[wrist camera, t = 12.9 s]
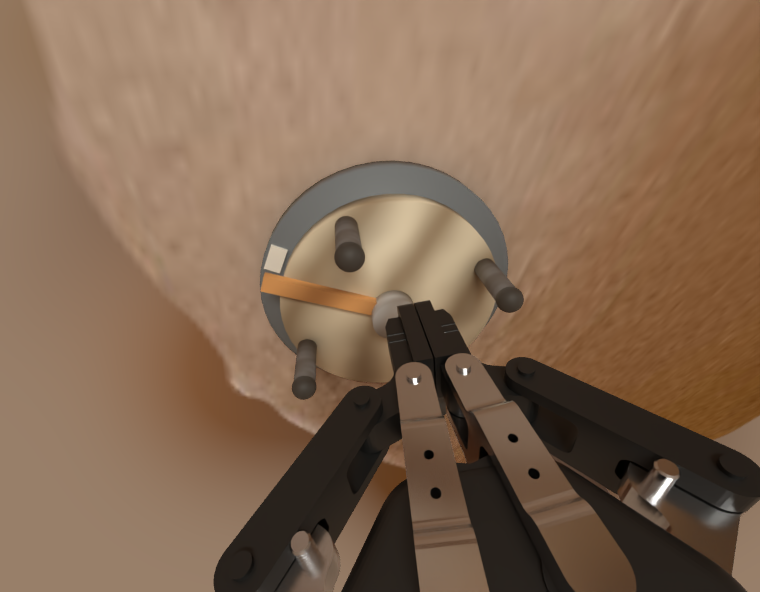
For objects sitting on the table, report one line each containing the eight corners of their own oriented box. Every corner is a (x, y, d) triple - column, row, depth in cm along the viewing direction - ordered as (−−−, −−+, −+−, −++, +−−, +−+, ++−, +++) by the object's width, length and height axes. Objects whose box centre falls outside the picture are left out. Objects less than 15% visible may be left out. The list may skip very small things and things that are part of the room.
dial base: (428, 383, 44) (432, 396, 42) (238, 339, 36) (233, 353, 34) (547, 222, 33) (560, 231, 31) (309, 106, 25) (308, 110, 23)
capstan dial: (529, 232, 30) (584, 277, 24) (435, 380, 40) (456, 441, 34) (291, 150, 24) (278, 181, 18) (249, 349, 34) (230, 417, 27)
